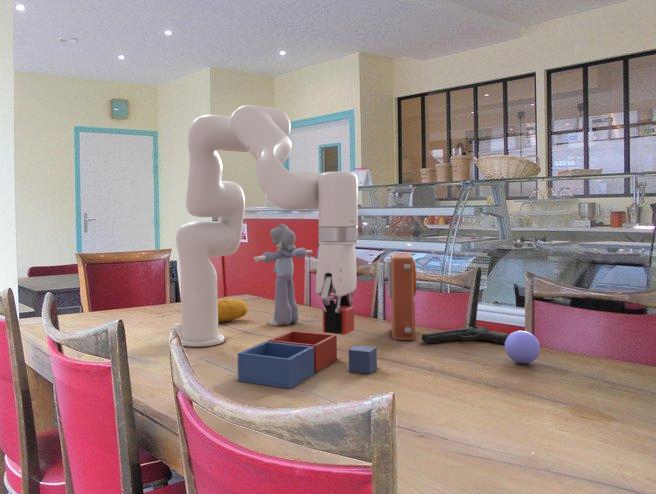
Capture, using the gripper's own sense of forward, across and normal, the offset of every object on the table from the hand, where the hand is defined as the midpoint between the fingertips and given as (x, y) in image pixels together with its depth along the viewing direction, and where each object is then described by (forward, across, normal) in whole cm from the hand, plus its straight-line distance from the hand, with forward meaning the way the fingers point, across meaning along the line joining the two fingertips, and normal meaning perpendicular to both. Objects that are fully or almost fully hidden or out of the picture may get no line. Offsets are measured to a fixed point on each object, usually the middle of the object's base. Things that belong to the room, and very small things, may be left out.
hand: (338, 329), depth 111 cm
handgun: (+11, -47, +16) cm, 51 cm away
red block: (0, 0, 0) cm, 0 cm away
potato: (+12, -46, -55) cm, 73 cm away
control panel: (+12, -49, -1) cm, 51 cm away
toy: (+12, -50, -37) cm, 64 cm away
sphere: (+11, -32, +30) cm, 45 cm away
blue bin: (+11, 0, -13) cm, 17 cm away
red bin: (+11, -12, -13) cm, 21 cm away
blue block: (+11, -12, +1) cm, 16 cm away
